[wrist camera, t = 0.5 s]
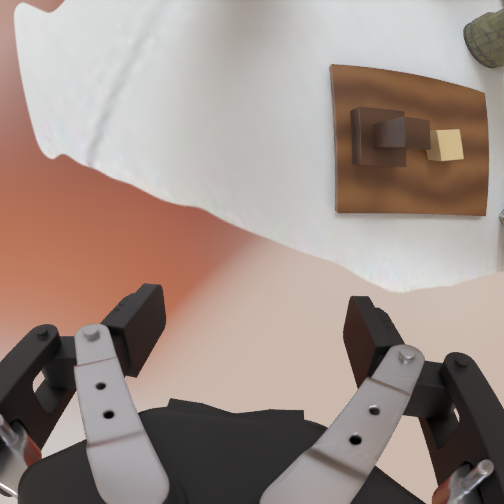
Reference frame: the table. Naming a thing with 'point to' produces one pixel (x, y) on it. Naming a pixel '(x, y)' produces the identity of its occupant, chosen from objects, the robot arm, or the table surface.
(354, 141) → the wooden post on base
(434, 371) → the robot arm
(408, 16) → the table surface
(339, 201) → the cutting board
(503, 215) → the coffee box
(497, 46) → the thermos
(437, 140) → the light tan wooden block
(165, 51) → the table surface
